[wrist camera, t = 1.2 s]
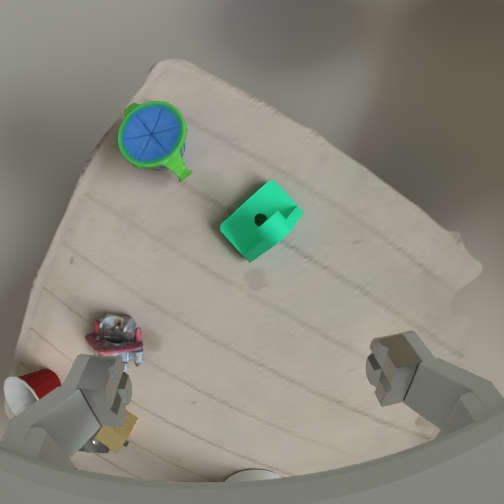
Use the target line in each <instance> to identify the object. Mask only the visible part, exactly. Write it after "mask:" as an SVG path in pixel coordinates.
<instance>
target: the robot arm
mask: <svg viewBox="0 0 504 504" xmlns="http://www.w3.org/2000/svg"><path fill="white" fill-rule="evenodd" d="M370 349H371V351H372V353H371V354H370V355H369V356H368V358H367V362H366V374H367V378H368V380H369V382H370V384H372V385H374V386H375V387H376V390H375V394H376V396H377V398H378V400H379V402H380V404H381V407H383V406H387V405H391V404H396V403H400V402H403V403H405V404H406V405H407V406H409V407H410V408H411V409H413V410H414V411H416V412H417V413H418V414H420V415H421V416H423V417H424V418H426V419H427V420H428V421H430V422H431V423H433V424H434V425H435V426H437V427H438V428H440V431H439V432H438V434H437V436H436V437H435V438H434V440H432V441H429V442H426V443H424V444H421V445H418V446H415V447H413V448H410V449H407V450H404V451H401V452H398V453H394V454H391V455H388V456H385V457H381V458H378V459H374V460H370V461H367V462H363V463H359V464H355V465H351V466H346V467H342V468H337V469H333V470H328V471H322V472H317V473H311V474H305V475H298V476H291V477H284V478H282V477H281V476H279V475H277V474H275V473H273V472H270V471H266V470H246V471H241V472H238V473H235V474H233V475H232V476H230V477H229V478H227V479H226V480H225V482H170V481H155V480H144V479H134V478H126V477H119V476H112V475H106V474H100V473H94V472H89V471H84V470H79V469H78V468H77V467H76V466H75V465H74V464H73V463H72V462H71V460H70V459H71V458H72V457H73V455H74V454H75V453H76V452H77V451H78V450H79V449H80V448H81V447H82V446H83V445H84V444H85V443H86V442H87V441H88V440H89V439H90V438H91V437H92V436H93V435H94V434H95V432H96V431H97V430H98V429H99V428H100V427H101V426H113V427H124V424H125V420H126V416H127V410H126V407H125V406H126V405H127V404H128V403H129V402H130V400H131V396H132V385H131V380H130V378H129V375H128V374H126V373H125V372H124V371H123V370H124V367H125V364H124V362H123V360H122V358H121V357H118V356H101V355H84V354H80V355H78V356H77V358H76V360H75V362H74V364H73V366H72V368H71V370H70V372H69V374H68V376H67V378H66V380H65V382H64V384H63V386H62V387H59V386H58V387H57V388H56V389H54V390H53V391H51V392H50V393H48V394H47V395H45V396H44V397H43V398H41V399H40V400H38V401H37V402H35V403H34V404H32V405H31V406H30V407H28V408H27V409H25V410H24V411H22V412H21V413H19V414H18V415H17V416H15V417H14V418H12V419H11V421H10V423H9V425H8V427H7V429H6V431H5V434H4V435H3V438H2V440H1V442H0V504H504V398H503V397H502V395H501V394H500V393H499V392H498V390H497V389H496V388H495V386H494V385H493V384H492V382H491V381H488V380H486V379H484V378H481V377H479V376H477V375H475V374H473V373H470V372H468V371H466V370H464V369H462V368H460V367H458V366H455V365H453V364H451V363H449V362H447V361H445V360H442V359H440V358H437V359H435V357H434V356H433V355H432V353H431V352H430V351H429V349H428V348H427V347H426V346H425V344H424V343H423V342H422V340H421V339H420V338H419V337H418V335H417V334H416V333H415V332H414V331H407V332H403V333H399V334H394V335H389V336H383V337H378V338H373V340H372V342H371V345H370ZM100 425H101V426H100Z"/></svg>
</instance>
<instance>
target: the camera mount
mask: <svg viewBox="0 0 504 504" xmlns="http://www.w3.org/2000/svg"><path fill="white" fill-rule="evenodd" d="M303 213H304V212H303V211H302V210H301V209H300V208H299V207H298V206H297V204H296V203H295V202H294V201H293V200H292V199H291V198H290V197H289V196H288V195H287V193H286V192H285V191H284V190H283V189H282V188H281V187H280V186H279V185H278V184H277V183H276V182H275V181H268V182H267V183H266V184H265V185H264V186H262V187H261V188H260V189H259V190H258V191H257V192H256V193H255V194H254V195H252V196H251V197H250V198H249V199H248V200H247V201H246V202H245V203H244V204H242V205H241V206H240V207H239V208H238V209H237V210H236V211H235V212H234V213H233V214H232V215H230V216H229V217H228V218H227V219H226V220H225V221H224V222H223V223H222V224H221V226H220V230H221V232H222V233H223V234H224V236H225V237H226V238H227V239H228V240H229V241H230V242H231V243H232V244H233V245H234V246H235V247H236V249H237V250H238V251H239V252H240V253H241V254H242V255H243V256H244V257H245V258H246V259H247V260H248V261H249V263H250V262H251V261H253V260H254V259H256V258H257V257H259V256H260V255H262V254H263V253H264V252H266V251H267V250H269V249H270V248H272V247H273V246H275V245H276V244H277V243H278V242H279V241H281V240H282V239H283V238H284V237H285V236H286V235H287V234H288V233H289V232H290V231H291V230H292V229H293V227H294V226H295V224H296V223H297V221H298V220H299V219H300V217H301V216H302V214H303ZM258 214H262V215H264V216H265V217H266V221H265V222H264V223H263V224H262V225H261V226H257V225H256V224H255V222H254V218H255V216H256V215H258Z"/></svg>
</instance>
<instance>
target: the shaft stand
mask: <svg viewBox="0 0 504 504" xmlns="http://www.w3.org/2000/svg"><path fill="white" fill-rule="evenodd" d="M99 430H100V429H98V430H97V431H96V432H95V434H94V435H93V436H92V437H91V438H90V439H89V440H88V441H87V442H86V443H85V444H84V445H83V446H82V447H81V448H80V449H79V450H78V451H86V452H92V453H95V452H98V453H108V452H109V449H108V447H107V446H106V445H104V444H103V443H101V442H100V441H98V440H97V439H95V437H96V435H97V434H98V432H99Z"/></svg>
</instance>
